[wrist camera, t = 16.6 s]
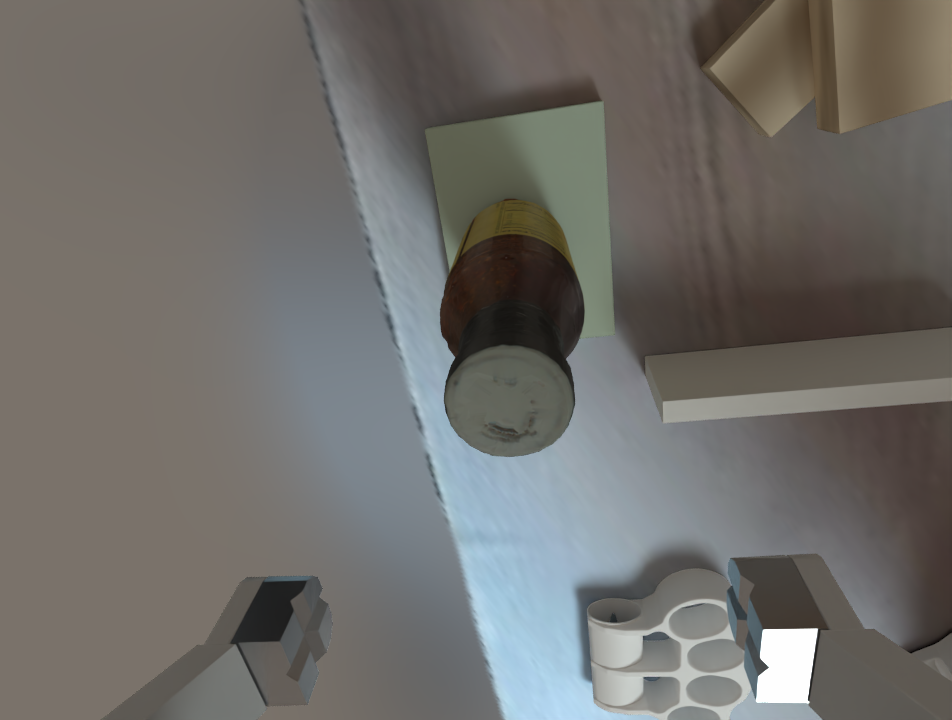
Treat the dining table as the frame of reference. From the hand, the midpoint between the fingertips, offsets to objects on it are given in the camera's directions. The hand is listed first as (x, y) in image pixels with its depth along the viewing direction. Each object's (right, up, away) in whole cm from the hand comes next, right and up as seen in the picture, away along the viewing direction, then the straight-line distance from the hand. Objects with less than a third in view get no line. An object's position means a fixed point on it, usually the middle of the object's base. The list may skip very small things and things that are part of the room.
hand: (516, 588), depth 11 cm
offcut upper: (+18, +22, +16) cm, 33 cm away
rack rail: (+21, +5, +26) cm, 34 cm away
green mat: (+2, +12, +25) cm, 28 cm away
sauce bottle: (+2, +12, +24) cm, 27 cm away
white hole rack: (+17, -20, +40) cm, 48 cm away
